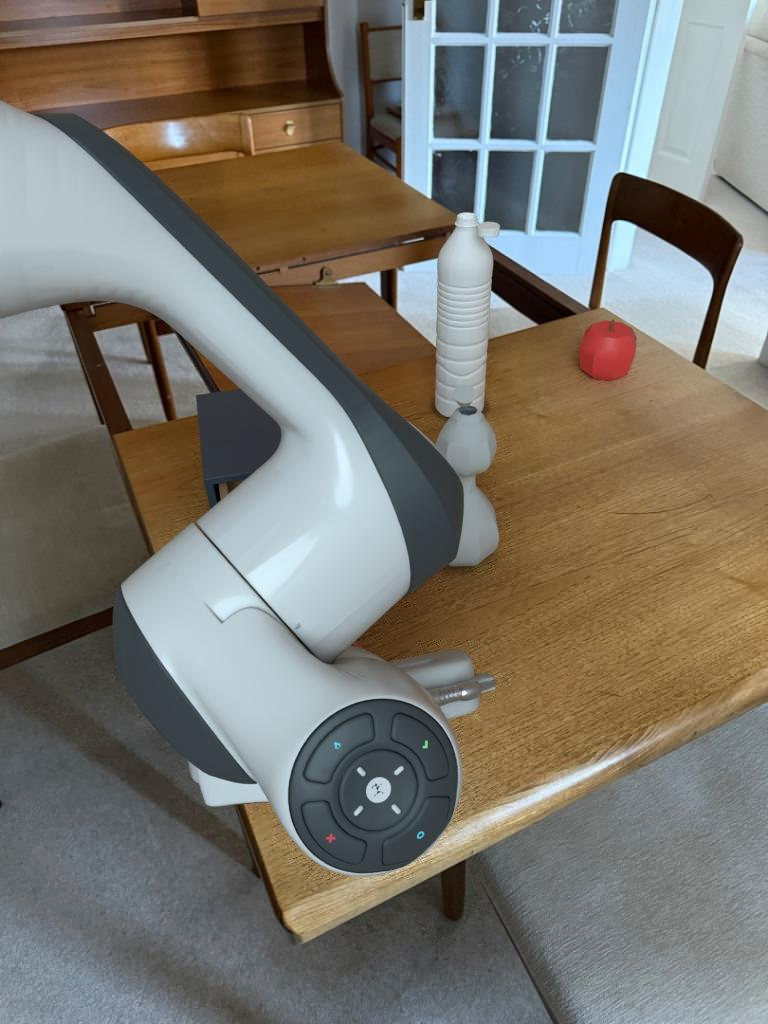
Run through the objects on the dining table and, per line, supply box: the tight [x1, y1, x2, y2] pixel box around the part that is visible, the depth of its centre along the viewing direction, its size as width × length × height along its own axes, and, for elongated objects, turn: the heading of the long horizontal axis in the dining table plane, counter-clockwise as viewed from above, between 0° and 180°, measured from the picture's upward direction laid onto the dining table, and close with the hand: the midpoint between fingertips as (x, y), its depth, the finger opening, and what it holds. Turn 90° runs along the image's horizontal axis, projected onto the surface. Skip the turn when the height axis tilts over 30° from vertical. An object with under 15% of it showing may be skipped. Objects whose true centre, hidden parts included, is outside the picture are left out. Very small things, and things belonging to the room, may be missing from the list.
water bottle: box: [434, 212, 501, 418], centre depth 90 cm, size 9×6×25 cm
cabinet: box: [195, 388, 281, 553], centre depth 82 cm, size 17×15×10 cm
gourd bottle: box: [435, 385, 500, 568], centre depth 70 cm, size 8×8×20 cm
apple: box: [578, 319, 637, 382], centre depth 102 cm, size 8×8×8 cm
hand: (324, 691), depth 58 cm, fingers closed on cup, 6 cm apart
